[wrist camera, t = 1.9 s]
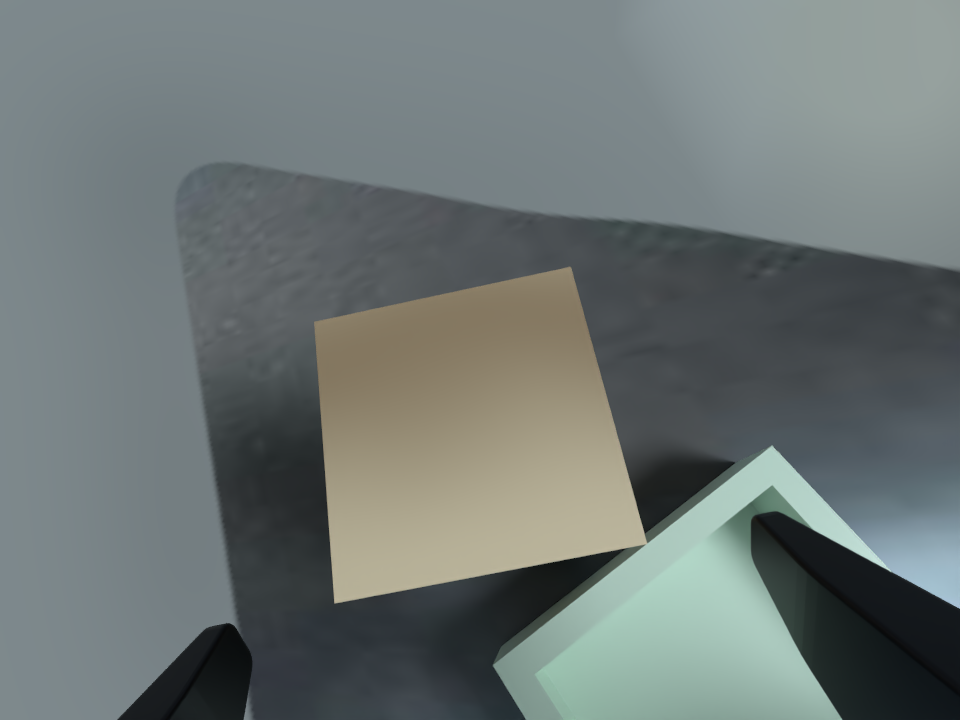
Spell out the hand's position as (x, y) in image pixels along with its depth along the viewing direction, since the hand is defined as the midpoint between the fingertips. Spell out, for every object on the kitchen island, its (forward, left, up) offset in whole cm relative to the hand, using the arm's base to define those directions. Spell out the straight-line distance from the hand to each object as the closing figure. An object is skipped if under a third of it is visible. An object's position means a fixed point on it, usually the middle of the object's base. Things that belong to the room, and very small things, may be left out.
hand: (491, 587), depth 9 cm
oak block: (+2, -1, -9) cm, 10 cm away
